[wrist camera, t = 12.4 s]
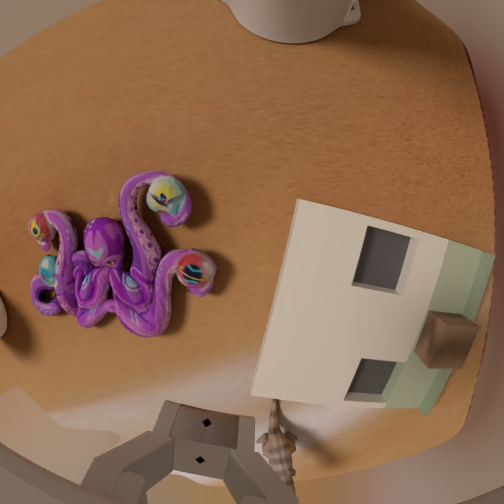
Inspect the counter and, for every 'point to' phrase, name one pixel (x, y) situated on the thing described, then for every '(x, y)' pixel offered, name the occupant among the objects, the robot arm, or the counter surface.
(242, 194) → the counter surface
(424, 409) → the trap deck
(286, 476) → the toy
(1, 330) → the cup
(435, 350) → the walnut block
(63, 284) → the decorative sculpture
